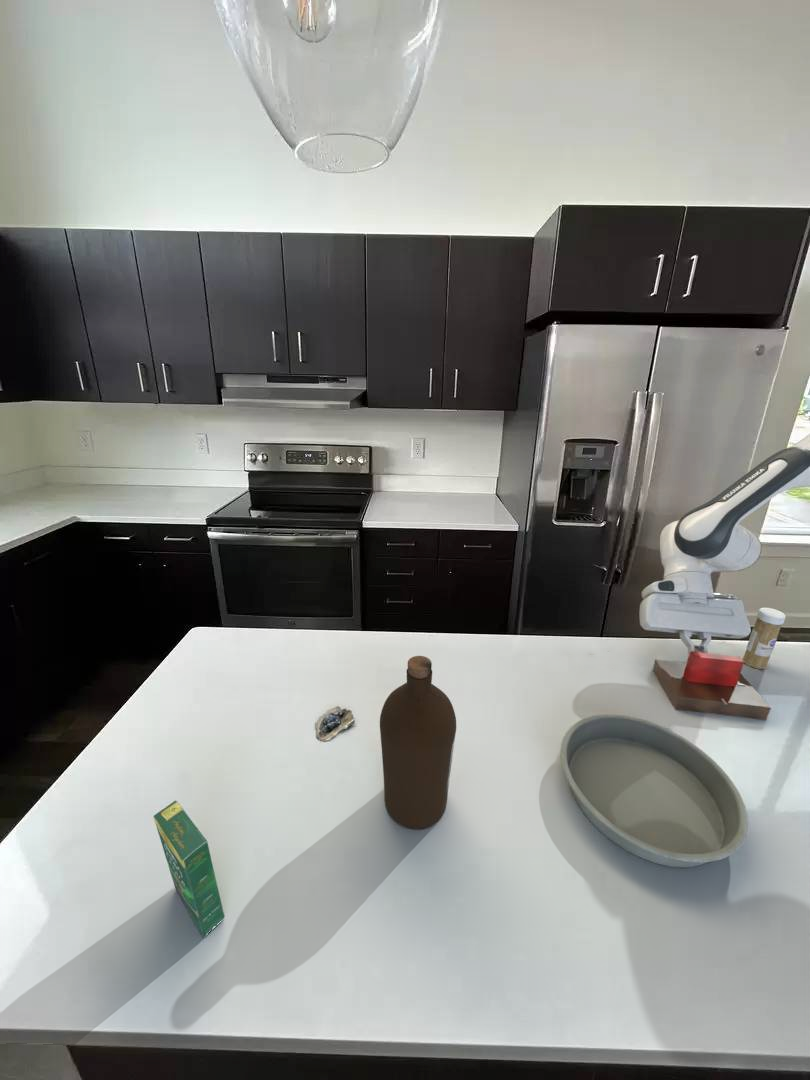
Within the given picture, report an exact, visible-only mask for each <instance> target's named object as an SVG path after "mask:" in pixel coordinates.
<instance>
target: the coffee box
mask: <svg viewBox="0 0 810 1080" xmlns="http://www.w3.org/2000/svg"><path fill="white" fill-rule="evenodd" d="M153 820H154V824H155V826H156V830H157V833H158V835H159V836H158V837H159V840H160V843H161V846H162V849H163V852H164V856H165V859H166V862H167V866H168V869H169V872H170V875H171V879H172V882H173V886H174V888H176V889H175V891H176V893H177V892H178V893H177V895H178V897H179V898H180V900H181V902H182V904H183V906H184V908H185V909H186V911H187V913H188V914H189V916H190V918H191V919H192V921H193V923H194V925H195V927H196V926H197V927H196V928H197V930H198V931H199V934H200V935H201V937H202V938H203V937H204V938H206V937H207V936H206V934H207V933H208V932H209V931H210V930H211V929H212V928H213V927H214V926H216V925H217V924H218V923H219V922H220V921H221V920H222V919H223V918H224V917H225V918H226V916H225V912H224V908H223V903H222V900H221V894H220V891H219V888H218V883H217V878H216V874H215V869H214V865H213V861H212V857H211V852H210V847H209V843H208V840H207V838H206V837H205V836H204V835H203V833H202V832H201V831H200V830H199V828H198V827H197V826H196V824H195V823H194V822H193V820H192V819H191V817H189V815H188V813H187V812H186V811H185V810H184V809H183V807H182V806H181V804H180V803H179V802H178V801H177V800H173V802H171V803H170V804H168V805H167V806H166V807H164V808H163V809H161V810H159V811H158V812H156V813H155V814H154V815H153ZM225 918H224V919H225ZM224 919H223V920H224ZM223 920H222V921H223ZM205 936H206V937H205Z"/></svg>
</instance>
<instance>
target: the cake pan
mask: <svg viewBox="0 0 810 1080" xmlns="http://www.w3.org/2000/svg"><path fill="white" fill-rule="evenodd" d="M560 761H561V766H562V770H563V772H564V776H565V778H566V780H567V782H568V784H569V788H570V790H571V793H572V795H573V798H574V800H575V801H576V803H577V805H578V807H579V808H580V810H581V811H582V812H583V814H584V815H585V817H586V818H587V819H588V820H589V821H590V822H591V823H592V824H593V826H594V827H595V828H596V829H597V830H599V831H600V832H601V833H602V834H603V835H604V836H605V837H607V838H608V839H609V840H610V841H611V842H613V843H614V844H615V845H617V846H619V847H621V849H624V850H625V851H627V852H629V853H630V854H633V855H634V856H637V857H639V858H641V859H643V860H646V861H649V862H652V863H654V864H658V865H661V866H666V867H672V868H673V867H674V868H694V867H697V866H702V865H704V864H707V863H710V862H715V861H720V860H723V859H725V858H727V857H730V856H731V855H733V854H734V853H735V852H737V851H738V850H739V849H740V848H741V847H742V846H743V844H744V842H745V840H746V837H747V835H748V831H749V816H748V812H747V808H746V805H745V802H744V800H743V797H742V796H741V793H740V791H739V789H738V788H737V787H736V785H735V783H734V782H733V780H731V778H730V776H729V775H728V773H726V772H725V770H724V769H723V768H722V767H721V766H720V765H719V764H718V763H717V762H716V761H715V760H714V759H713V758H712V757H710V755H708V754H707V753H706V752H705V751H704V750H702V749H701V748H700V747H698V746H697V745H695V744H694V743H693V742H691V741H690V740H688V739H687V738H685V737H683V736H682V735H680V734H678V733H676V732H674V731H673V730H671V729H668V728H666V727H664V726H662V725H660V724H657V723H654V722H651V721H649V720H647V719H642V718H639V717H635V716H630V715H625V714H624V715H623V714H613V713H612V714H611V713H608V714H607V713H606V714H605V713H604V714H596V715H591V716H587V717H584V718H582V719H581V720H578V721H577V722H575V723H574V724H573V725H571V726H570V727H569V728H568V730H567V731H566V732H565V734H564V736H563V738H562V740H561V744H560Z"/></svg>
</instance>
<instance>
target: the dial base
mask: <svg viewBox="0 0 810 1080" xmlns="http://www.w3.org/2000/svg"><path fill="white" fill-rule="evenodd" d="M686 664H687V662H685V661H684V662H683V661H674V660H666V659H654V664H653V666H652V670H651V671H652V672H653V674H654V676H655V677H656V679H657V681H658V683H659V684H660V686H661V688H662V689H663V691H664V693H665V695H666V696H667V698H668V700H669V701H670V703H671V705H672V707H673V708H674V710H679V711H687V712H694V713H695V712H697V713H704V714H712V715H722V716H728V717H737V718H746V719H754V720H762V721H767V719H768V717H769V714H770V712H771V709H772V707H771V706H770V704H769V703H768V702H767V701H766V700H765V698H763V696H761V694H760V693H759V692H758V691H757V690H756V688H754V686H753V685H752V684H751V683H750V682H749V681H748V680H747V679H746V678H745V676H744V675H743V674H742V672H741V673H740V676H739V679H738V682H737V684H736V687H732V686H723V685H714V684H705V683H696V682H687V681H686V680H685V678H684V677H683V674H684V671H685V667H686Z"/></svg>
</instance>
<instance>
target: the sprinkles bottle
mask: <svg viewBox="0 0 810 1080" xmlns="http://www.w3.org/2000/svg"><path fill="white" fill-rule="evenodd" d="M786 617H787V616H786V614H785V613H784V612H782V611H780V610H778V609H775V608H771V607H761V608H759V609H758V611H757V613H756V620H755V623H754V626H753V628H752V630H751V632H750V636H749V639H748V642H747V644H746V650H745V652H744V656H743V657H742V660H743V661H744V664H745V665H747V666H749V667H751V668H754V669H757V670H758V669H759V670H764V669H767V668H768V663H769V661H770V658H771V656H772V654H773V651H774V649H775V645H776V644H777V639H778V637H779V634H780V630H781V628H782V626H783V625H784V623H785V620H786Z"/></svg>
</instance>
